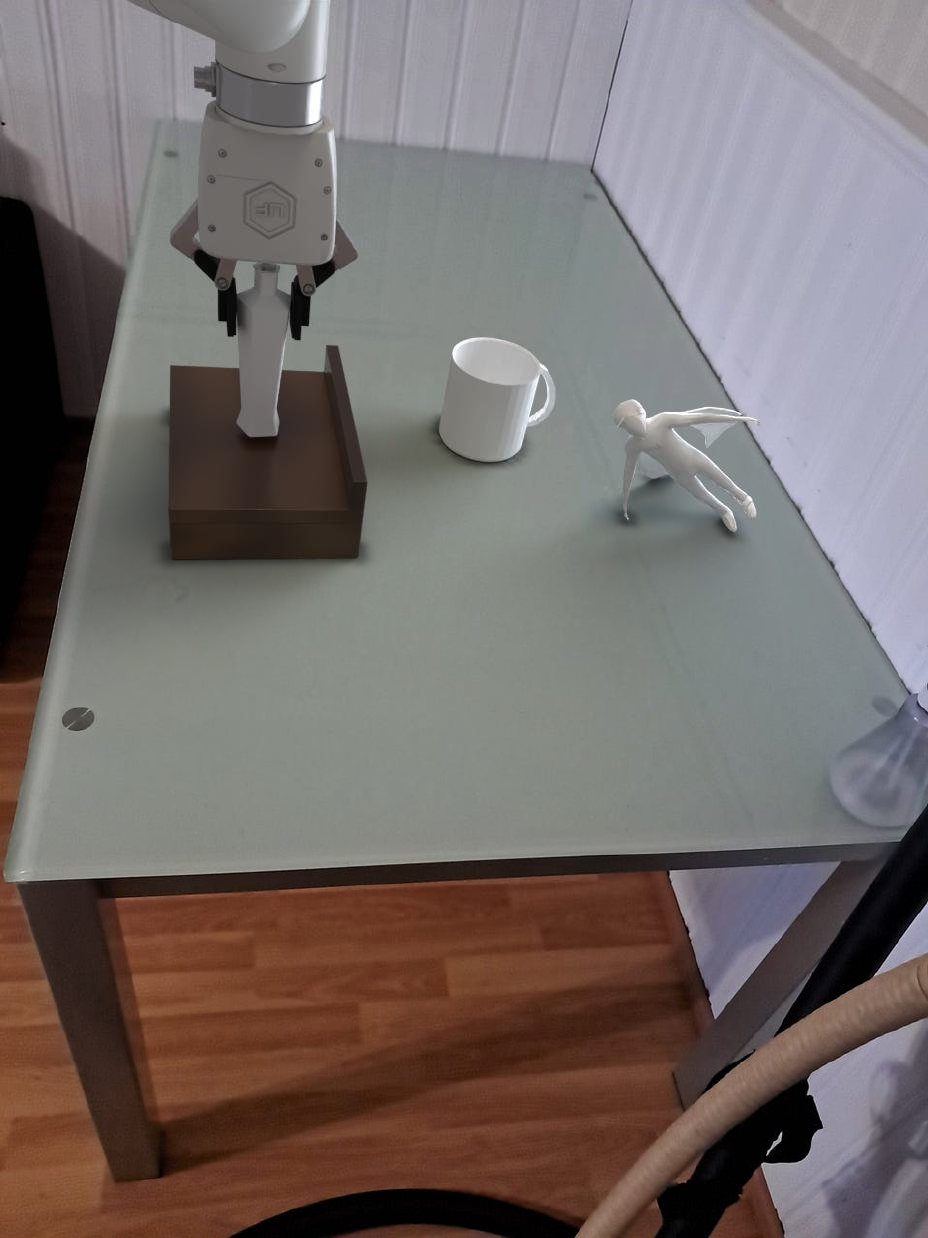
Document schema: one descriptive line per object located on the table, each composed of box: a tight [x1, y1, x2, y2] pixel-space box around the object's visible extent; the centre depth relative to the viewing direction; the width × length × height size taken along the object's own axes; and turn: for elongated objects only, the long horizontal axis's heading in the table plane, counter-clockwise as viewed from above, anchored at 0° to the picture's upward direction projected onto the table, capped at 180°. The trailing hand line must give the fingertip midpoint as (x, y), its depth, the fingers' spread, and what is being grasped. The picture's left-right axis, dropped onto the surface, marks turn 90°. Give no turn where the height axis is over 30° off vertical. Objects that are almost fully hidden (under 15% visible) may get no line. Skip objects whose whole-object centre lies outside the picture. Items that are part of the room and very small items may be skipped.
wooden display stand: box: [167, 344, 368, 560], centre depth 88 cm, size 16×22×8 cm
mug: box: [438, 336, 556, 463], centre depth 100 cm, size 12×9×9 cm
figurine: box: [608, 399, 761, 533], centre depth 94 cm, size 16×11×20 cm
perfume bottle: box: [236, 262, 291, 437], centre depth 81 cm, size 5×4×15 cm
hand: (263, 328), depth 80 cm, fingers closed on perfume bottle, 4 cm apart
